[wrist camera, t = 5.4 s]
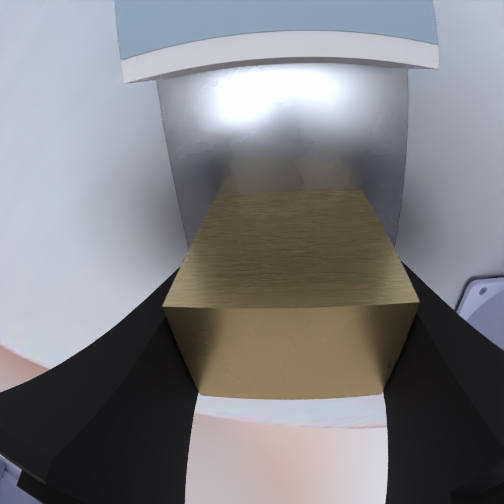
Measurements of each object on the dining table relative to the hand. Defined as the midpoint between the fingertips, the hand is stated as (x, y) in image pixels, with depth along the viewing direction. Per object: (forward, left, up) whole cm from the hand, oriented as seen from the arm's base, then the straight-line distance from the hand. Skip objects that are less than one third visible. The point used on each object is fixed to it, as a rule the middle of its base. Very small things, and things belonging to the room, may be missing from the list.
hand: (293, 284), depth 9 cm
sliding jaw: (0, -9, -2) cm, 9 cm away
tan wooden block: (0, 0, -2) cm, 2 cm away
